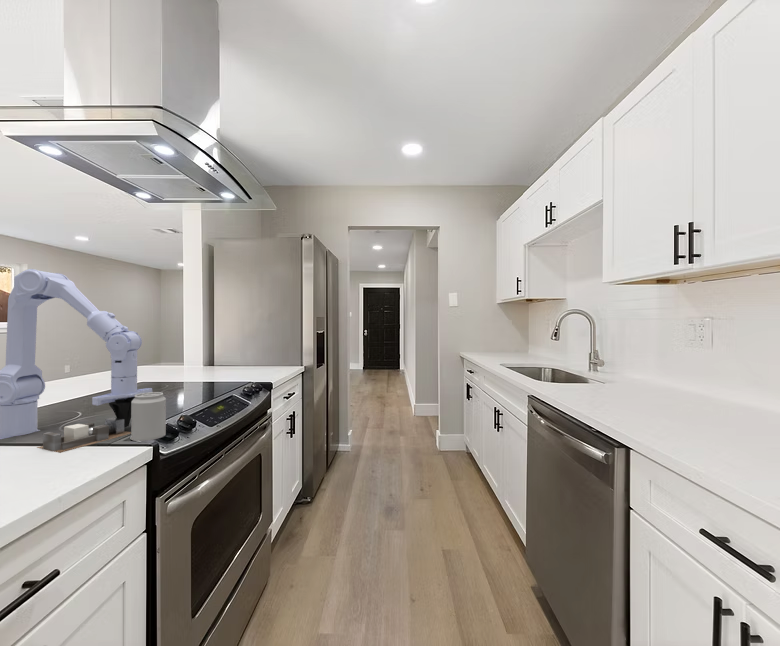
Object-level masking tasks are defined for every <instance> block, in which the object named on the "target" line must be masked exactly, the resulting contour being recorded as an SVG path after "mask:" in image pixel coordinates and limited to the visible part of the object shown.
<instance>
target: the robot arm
mask: <svg viewBox="0 0 780 646" xmlns="http://www.w3.org/2000/svg"><path fill="white" fill-rule="evenodd" d="M13 280H14V281H13V288H12V290H11V292H10V293H9V296H8V299H7V320H6V321H7V323H6V348H5V365H4V366H3V367H2V368H1V369H0V440H3V439H7V438H12V437H19V436H24V435H27V434H28V435H29V434H33V433H36V432H39V431H41V430H40V429H38V401H39V400H40V396H41V395H42V394H43V393H44V392H45V390H46V382H45V380H44V378H43V371H42V370H41V368H40V367H38V366H37V365H36V349H37V347H36V345H37V323H38V307H39V306H40V305H42V304H43V303H45V302H47V301H49V300H52V299H61V300H63V301H64V302H65V303H66V304H67V305H69V306H70V307H72V308H73V309H74V310H76V312H78V313H79V314H80V315H82V316H83V317H84V318H86V325H87V327H88V328H89V329H91V330H92V331H93V332H94V333H95V334H96V335H97V336H98V337H99V338H101V339H102V340H103V341H104V342H105V347H106V350H107V351H108V352H109V354H110V362H111V363H110V364H111V366H110V367H111V368H110V373H111V374H110V376H111V377H110V392H109V393H105V394H102V395H97V396H92V398H91V399H92V400H91V402H92V403H91V404H92V405H93V406H101V405H105V404H108V405H109V406H110V408H111V410H112V411H113V413H114V415H115V418H121V419H124V428H128V427H129V426H130V424H131V402H132V400H133V399H134V398H135V397H134V396H135V395H136V394H140V393H148V392H153V388H151V387H145V388H138V351H139V350H140V349H141V347H142V345H143V344H142V343H143V339H142V337H141V336H140V335H139V333H138V332H136V331H132V330H129V327H128V326H126V325H123V324H122V323H121V322H120V321H119V320H117V318H115V317H116V314H114V312H109V311H107V310H99V308H97V307H96V305H94V303H92V302H91V301H90V299H89V298H87V296H86V295H84V293H82V292H81V290H80V289H78V287H77V286H76V284H75V281H72V280H71V279H69V277H68V276H67V275H65V274H63V273H58V272H48V271H42V270H38V269H34V268H29V269H25V270H23V271H20V273H18V274H16V275H15V276H14V279H13Z"/></svg>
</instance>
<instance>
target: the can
mask: <svg viewBox="0 0 780 646" xmlns="http://www.w3.org/2000/svg"><path fill="white" fill-rule="evenodd" d="M134 397H135V398H134V399H133V400H132V402H131V420H130V427H131V428H130V430H131V431H130V432H131V434H130V437H131V438H130V440H132V441H134V442H146V441H154V440H158V439H161V438H164V437H165V436H166V433H167V431H166V430H167V428H166V427H167V423H166V421H167V397H165V396H164V393H163V392H160V391H152V392H148V393H140V394H136V395H135V396H134Z"/></svg>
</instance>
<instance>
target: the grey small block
mask: <svg viewBox="0 0 780 646" xmlns="http://www.w3.org/2000/svg"><path fill="white" fill-rule="evenodd" d="M104 419H105V421H104V424H101V425H99V426H102V425H106V426H109V433H114V434H118V433H122V432H124V431H125V427H124V419H121V418H117V417H116V416H115V417H108V418H104ZM97 426H98V425H94V427H97ZM92 428H93V427H91V428H89V436H91V435H92Z"/></svg>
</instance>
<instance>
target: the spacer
mask: <svg viewBox="0 0 780 646" xmlns="http://www.w3.org/2000/svg"><path fill="white" fill-rule="evenodd" d="M83 424H84V423H76V424H70V425H66V426H63V428H64V429H63V436H64V442H67V441H71V440H75V439H79V438H83V437H87V436H89V425H83Z"/></svg>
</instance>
